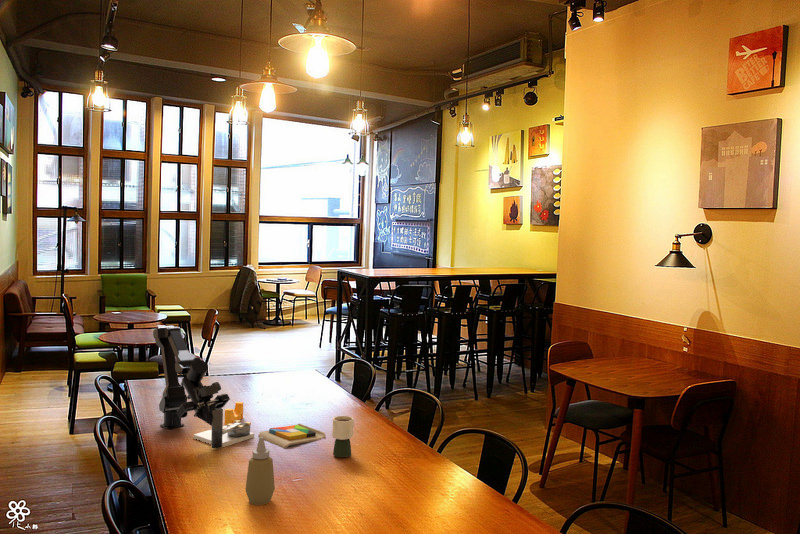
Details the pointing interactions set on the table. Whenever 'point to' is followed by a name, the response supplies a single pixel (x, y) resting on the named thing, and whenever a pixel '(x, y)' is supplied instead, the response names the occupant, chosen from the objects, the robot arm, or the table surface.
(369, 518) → the table surface
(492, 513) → the table surface
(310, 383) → the table surface
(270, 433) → the wooden puzzle
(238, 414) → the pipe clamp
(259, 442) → the squeeze bottle
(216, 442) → the dark cylinder with bar
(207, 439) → the cap plate
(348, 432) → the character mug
